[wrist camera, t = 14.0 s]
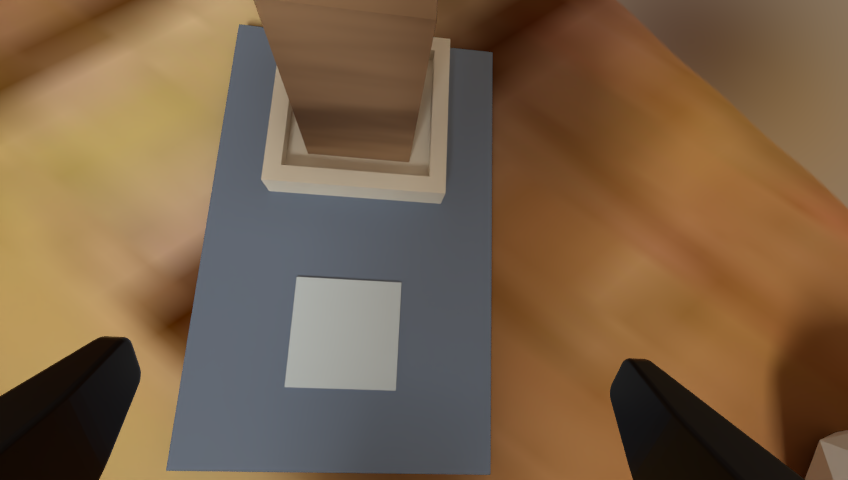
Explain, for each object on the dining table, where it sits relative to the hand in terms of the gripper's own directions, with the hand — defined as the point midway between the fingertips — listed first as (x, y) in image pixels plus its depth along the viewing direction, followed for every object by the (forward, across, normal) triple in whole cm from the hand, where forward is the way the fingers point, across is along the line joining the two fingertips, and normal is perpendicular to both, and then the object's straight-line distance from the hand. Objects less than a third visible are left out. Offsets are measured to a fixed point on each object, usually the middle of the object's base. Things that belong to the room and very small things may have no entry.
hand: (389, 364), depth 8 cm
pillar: (+17, +2, 0) cm, 17 cm away
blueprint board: (+14, +2, +6) cm, 15 cm away
